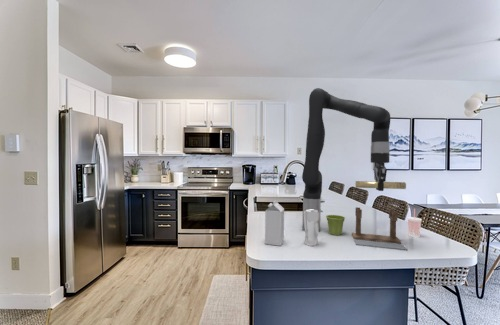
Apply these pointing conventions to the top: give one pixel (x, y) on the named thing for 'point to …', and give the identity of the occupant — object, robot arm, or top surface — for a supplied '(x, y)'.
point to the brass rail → (375, 185)
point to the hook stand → (378, 238)
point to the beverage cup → (414, 226)
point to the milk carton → (274, 224)
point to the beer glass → (311, 226)
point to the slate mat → (380, 245)
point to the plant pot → (335, 224)
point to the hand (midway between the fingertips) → (379, 190)
